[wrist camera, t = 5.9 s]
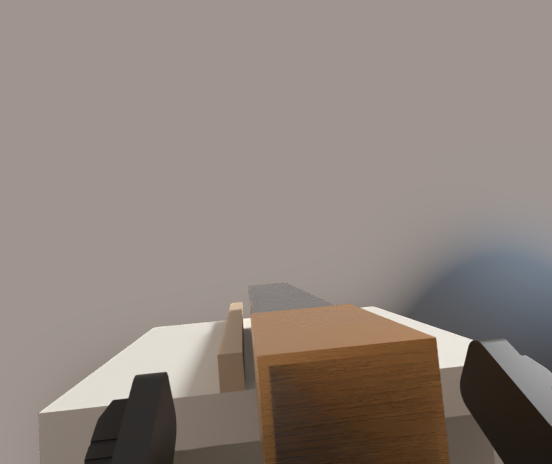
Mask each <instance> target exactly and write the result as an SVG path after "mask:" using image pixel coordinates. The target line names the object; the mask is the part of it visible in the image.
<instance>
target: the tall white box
mask: <svg viewBox="0 0 552 464" xmlns="http://www.w3.org/2000/svg"><path fill="white" fill-rule="evenodd" d="M362 309H364V310H367V311H369V312H372V313H375V314H377V315H380V316H382V317H385V318H387V319H390V320H393V321H395V322H398V323H400V324H403V325H405V326H408V327H411V328H413V329H416V330H418V331H421V332H423V333H426V334H429V335H431V336H434V337H436V340H437V349H438V358H439V367H440V377H441V386H442V395H443V405H444V414H445V423H446V432H447V442H448V451H449V460H450V464H504V463H503V462H502V460H501V459H500V457H499V456H498V454H497V452H496V451H495V449H494V448H493V446H492V445H491V443H490V442H489V440H488V439H487V437H486V436H485V434H484V433H483V431H482V430H481V428H480V427H479V425H478V424H477V422H476V421H475V419H474V418H473V416H472V414H471V413H470V411H469V410H468V408H467V407H466V405H465V403H464V401H463V399H462V396H461V392H460V379H461V375H462V370H463V366H464V362H465V358H466V354H467V350H468V346H469V344H470V342H471V341H473V340H471V339H468V338H465V337H462V336H459V335H456V334H453V333H450V332H447V331H444V330H441V329H438V328H436V327H432V326H430V325H427V324H424V323H421V322H418V321H415V320H412V319H409V318H406V317H403V316H400V315H397V314H394V313H391V312H388V311H385V310H382V309H379V308H376V307H363V308H362ZM158 372H167V374H168V377H169V382H170V387H171V392H172V397H173V402H174V407H175V413H176V424H177V432H176V444H175V452H174V461H173V464H263V460H262V451H261V441H260V431H259V422H258V410H257V397H256V384H255V370H254V357H253V344H252V331H251V318H249V319H243V308H242V302H239V303H231V305H230V309H229V313H228V316H227V320H226V321H216V322H206V323H195V324H185V325H175V326H164V327H154V328H152V329H151V330H150V331H148V332H147V333H146V334H144V335H143V336H142V337H140V338H139V339H138V340H136V341H135V342H134V343H132V344H131V345H130V346H128V347H127V348H126V349H124V350H123V351H122V352H120V353H119V354H118V355H116V356H115V357H113V358H112V359H111V360H109V361H108V362H107V363H105V364H104V365H103V366H101V367H100V368H99V369H97V370H96V371H95V372H93V373H92V374H91V375H89V376H88V377H87V378H85V379H84V380H83V381H81V382H80V383H79V384H77V385H76V386H75V387H73V388H72V389H70V390H69V391H68V392H67V393H65V394H64V395H62V396H61V397H60V398H59V399H57V400H56V401H54V402H53V403H52V404H50V405H49V406H48V407H46V408H45V409H44V410H42V411H41V412H40V413H38V416H39V441H40V464H84V459H85V456H86V453H87V450H88V447H89V446H90V444H91V442H90V441H91V438H92V435H93V432H94V429H95V426H96V423H97V420H98V418H99V417H100V416H101V415H102V413H103V412H104V411H105V409H106V408H107V407H108V406H109V404H110V403H111V402H112V400H117V399H126V398H128V397H129V393H130V390H131V386H132V382H133V379H134V377H135V375H139V374H149V373H158Z"/></svg>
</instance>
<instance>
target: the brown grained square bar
mask: <svg viewBox="0 0 552 464" xmlns="http://www.w3.org/2000/svg"><path fill="white" fill-rule="evenodd" d="M248 291H249V304H250V318H251V331H252V344H253V357H254V370H255V384H256V397H257V410H258V422H259V431H260V441H261V451H262V460H263V464H450V460H449V451H448V442H447V432H446V423H445V414H444V405H443V395H442V386H441V377H440V367H439V358H438V349H437V340H436V337H434V336H431V335H429V334H426V333H423V332H421V331H418V330H416V329H413V328H411V327H408V326H405V325H403V324H400V323H398V322H395V321H393V320H390V319H387V318H385V317H382V316H380V315H377V314H375V313H372V312H369V311H367V310H364V309H362V308H359V307H357V306H354V305H351V304H345V305H332V304H330V303H328V302H326V301H324V300H322V299H320V298H317V297H315V296H313V295H311V294H309V293H307V292H305V291H303V290H300V289H298V288H296V287H294V286H292V285H290V284H288V283H277V284H266V285H255V286H248Z"/></svg>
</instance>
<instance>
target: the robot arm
mask: <svg viewBox="0 0 552 464" xmlns="http://www.w3.org/2000/svg"><path fill="white" fill-rule="evenodd" d="M460 392H461V396H462V399H463V401H464V403H465V405H466V407H467V408H468V410H469V411H470V413H471V414H472V416H473V418H474V419H475V421H476V422H477V424H478V425H479V427H480V428H481V430H482V431H483V433H484V434H485V436H486V437H487V439H488V440H489V442H490V443H491V445H492V446H493V448H494V449H495V451H496V452H497V454H498V456H499V457H500V459H501V460H502V462H503V463H504V464H552V373H551V372H550V371H549V370H548V369H546V368H545V367H543V366H542V365H540V364H539V363H537V362H536V361H534V360H532V359H531V358H529V357H528V356H526V355H524V356H521V355H520V354H519V353H518V352H517V351H516V350H515V349H514V348H513V347H512V346H511V345H510V343H509V342H508V341H506V340H505V339H503V338H490V339H480V340H473V341H471V342H470V344H469V346H468V350H467V354H466V358H465V362H464V366H463V370H462V375H461V379H460ZM176 432H177V424H176V413H175V407H174V402H173V397H172V392H171V387H170V382H169V377H168V374H167V372H158V373H149V374H139V375H135V377H134V379H133V382H132V386H131V390H130V393H129V397H128V398H126V399H117V400H112V402H111V403H110V404H109V406H108V407H107V408H106V409H105V411H104V412H103V413H102V415H101V416H100V417H99V418H98V420H97V423H96V426H95V429H94V432H93V435H92V438H91V441H90V442H91V444H90V446H89V447H88V450H87V453H86V456H85V459H84V464H173V461H174V452H175V444H176Z"/></svg>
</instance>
